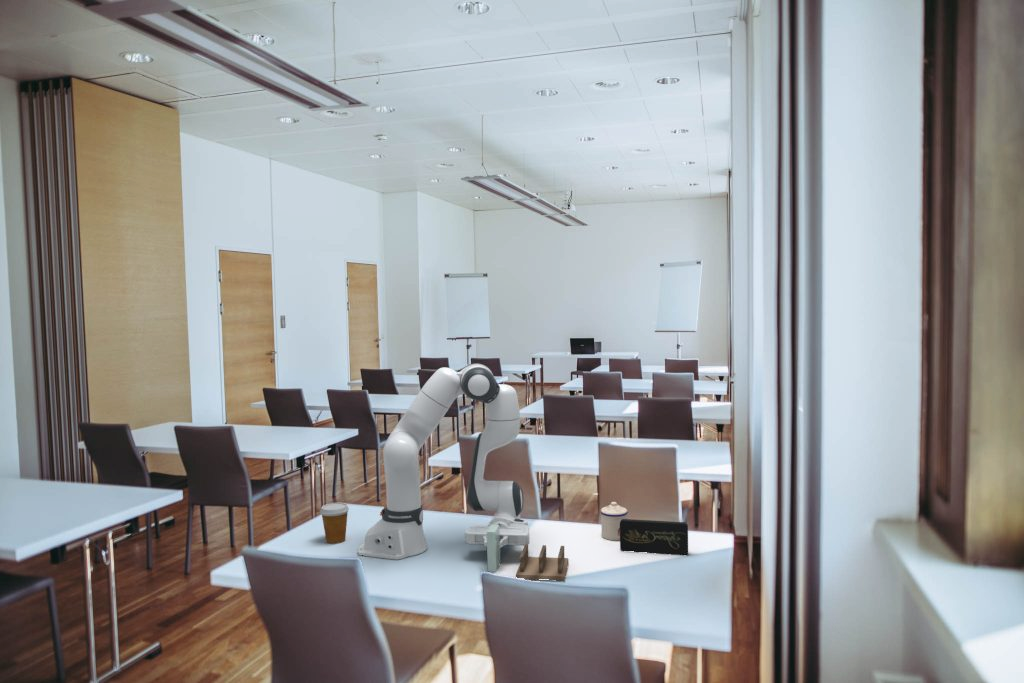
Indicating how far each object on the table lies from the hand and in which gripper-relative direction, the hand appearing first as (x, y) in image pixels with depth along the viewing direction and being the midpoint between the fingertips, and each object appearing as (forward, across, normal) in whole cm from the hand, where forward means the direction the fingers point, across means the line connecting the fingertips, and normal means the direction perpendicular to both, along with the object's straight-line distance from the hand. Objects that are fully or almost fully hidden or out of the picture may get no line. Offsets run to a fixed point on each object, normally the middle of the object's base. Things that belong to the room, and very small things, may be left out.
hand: (493, 544), depth 202 cm
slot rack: (+1, +15, +7) cm, 17 cm away
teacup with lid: (-33, +36, +7) cm, 49 cm away
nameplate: (-18, +48, +8) cm, 52 cm away
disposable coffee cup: (-19, -59, +8) cm, 62 cm away
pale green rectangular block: (-1, 0, +7) cm, 7 cm away
